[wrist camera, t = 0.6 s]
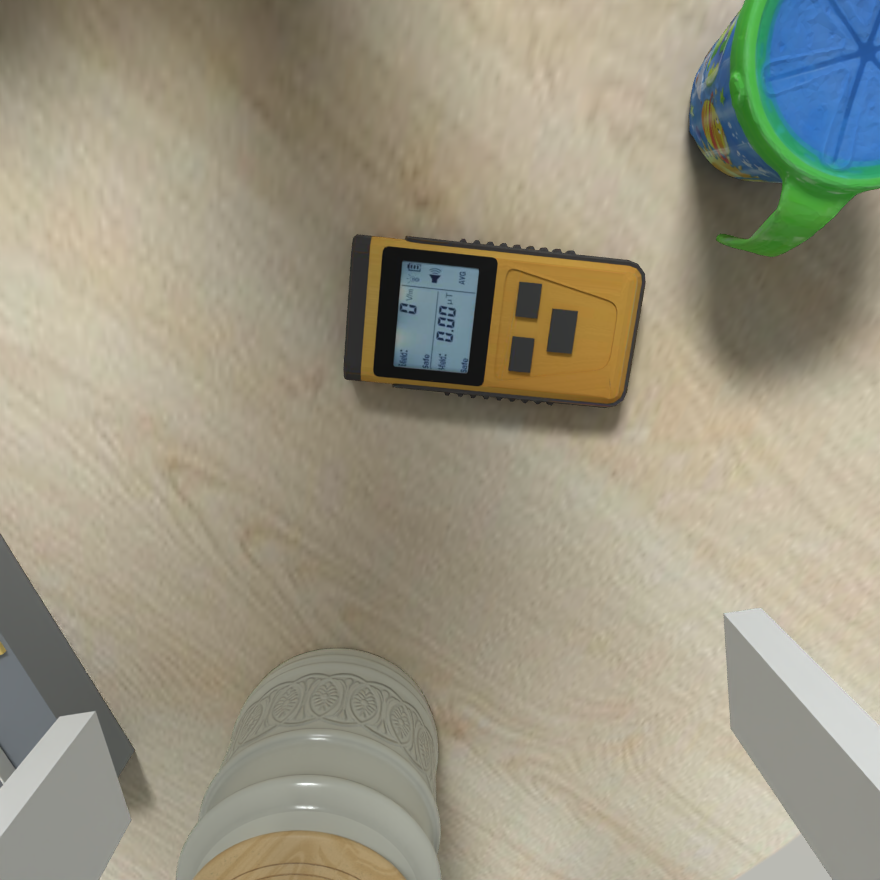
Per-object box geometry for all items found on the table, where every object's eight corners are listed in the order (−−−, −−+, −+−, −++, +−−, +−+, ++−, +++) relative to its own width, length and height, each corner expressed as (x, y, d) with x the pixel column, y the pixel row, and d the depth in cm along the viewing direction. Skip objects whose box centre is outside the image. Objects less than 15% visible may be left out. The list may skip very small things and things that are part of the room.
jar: (455, 660, 43) (476, 916, 26) (417, 824, 46) (412, 1151, 29) (254, 626, 42) (137, 868, 25) (228, 796, 45) (108, 1116, 28)
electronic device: (610, 404, 40) (628, 416, 36) (347, 379, 39) (341, 389, 36) (635, 259, 38) (655, 258, 34) (358, 229, 37) (352, 225, 33)
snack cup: (775, 285, 38) (899, 289, 28) (604, 216, 36) (671, 195, 27) (913, -9, 34) (1112, -123, 24) (730, -93, 33) (860, -250, 23)
